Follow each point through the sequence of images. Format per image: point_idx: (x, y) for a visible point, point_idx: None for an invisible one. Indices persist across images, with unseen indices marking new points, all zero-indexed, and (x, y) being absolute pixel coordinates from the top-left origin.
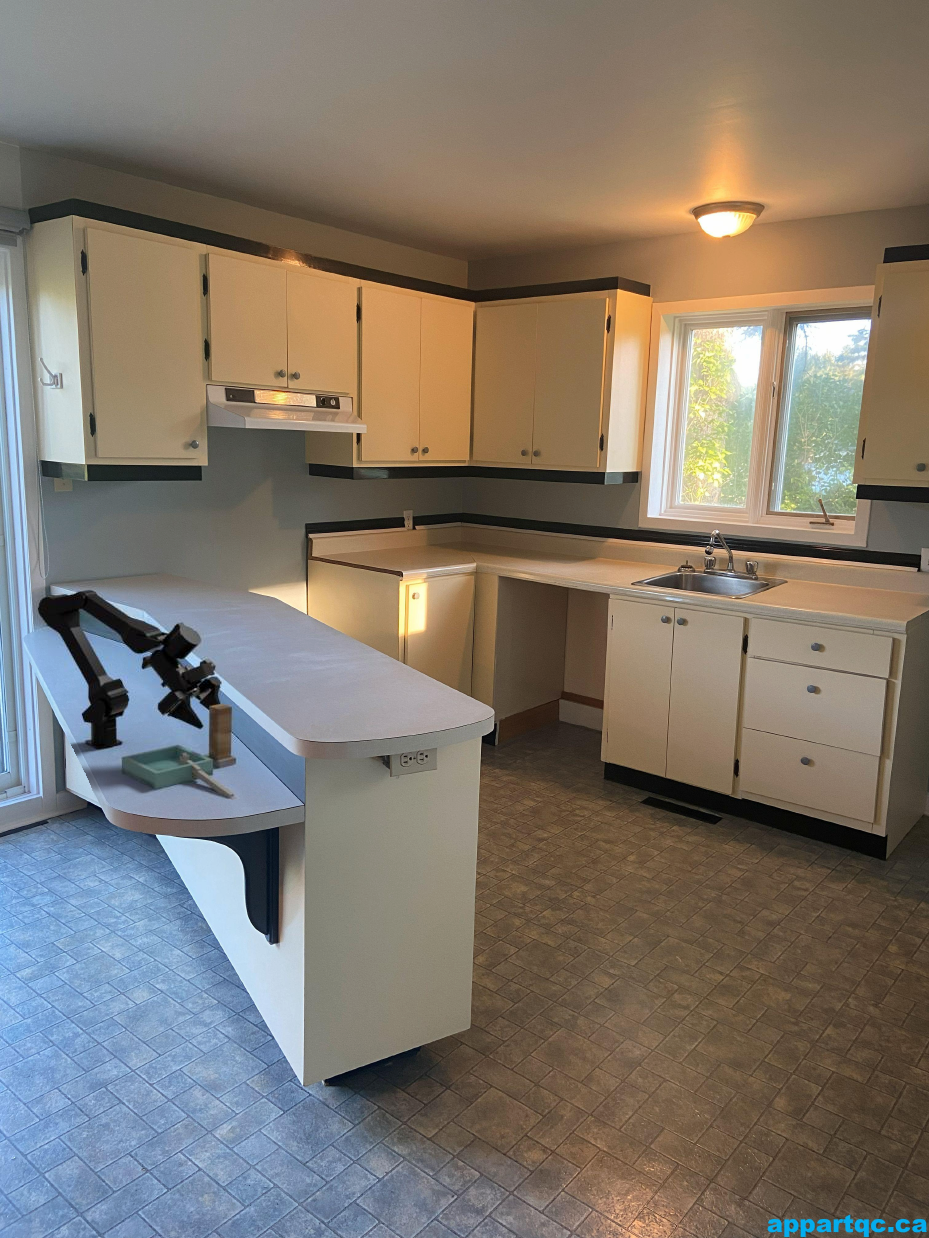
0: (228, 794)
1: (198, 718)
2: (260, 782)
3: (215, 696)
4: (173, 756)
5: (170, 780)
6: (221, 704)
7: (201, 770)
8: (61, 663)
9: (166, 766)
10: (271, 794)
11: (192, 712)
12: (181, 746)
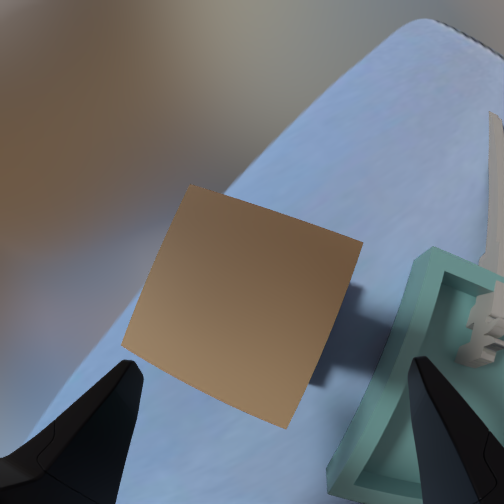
0: (501, 124)
1: (441, 405)
2: (380, 105)
3: (31, 470)
4: (361, 471)
5: None
6: (152, 340)
7: (496, 241)
8: None
9: None
10: (421, 60)
11: (491, 450)
12: (342, 471)
